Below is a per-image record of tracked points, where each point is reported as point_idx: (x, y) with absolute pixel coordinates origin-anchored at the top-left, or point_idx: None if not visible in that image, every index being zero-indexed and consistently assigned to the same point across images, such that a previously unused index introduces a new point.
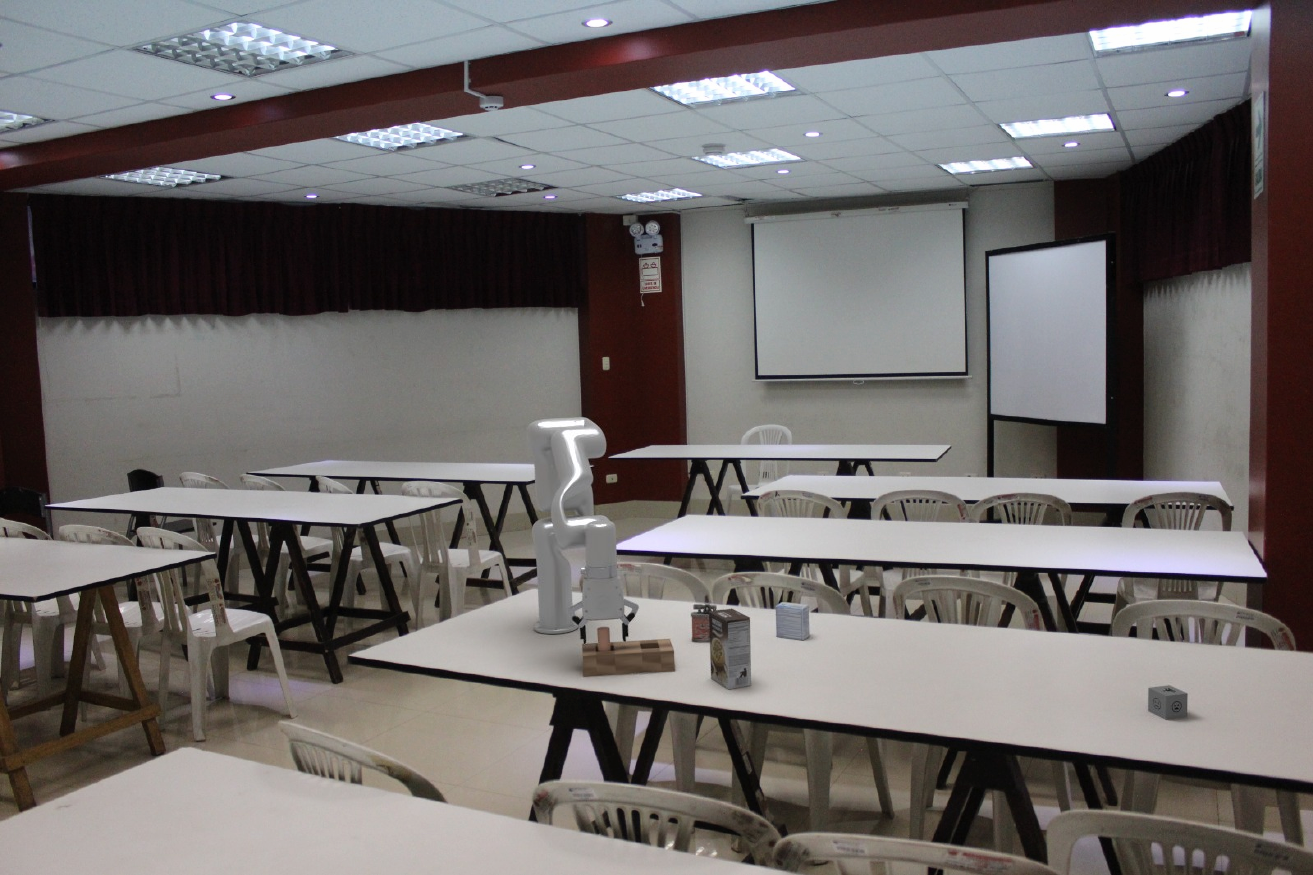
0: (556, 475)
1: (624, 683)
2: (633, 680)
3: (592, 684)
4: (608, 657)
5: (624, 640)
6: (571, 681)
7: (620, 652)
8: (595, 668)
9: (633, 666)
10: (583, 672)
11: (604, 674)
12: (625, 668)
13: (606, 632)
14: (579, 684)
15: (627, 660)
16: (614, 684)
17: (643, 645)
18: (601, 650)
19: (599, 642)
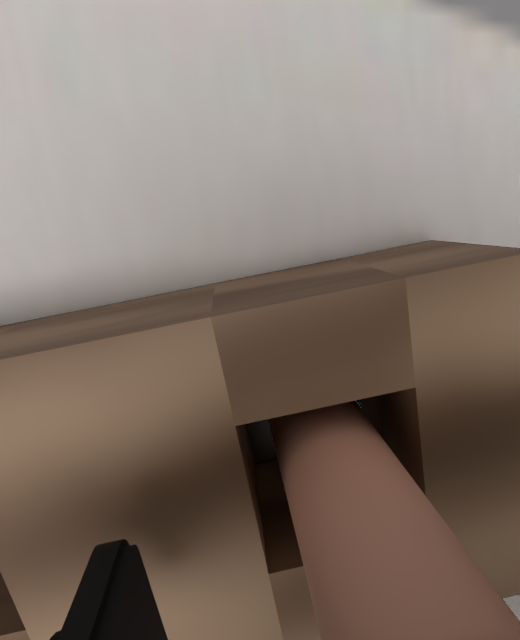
0: None
1: (112, 83)
2: (56, 156)
3: (353, 65)
4: (275, 295)
5: (112, 542)
6: (504, 138)
7: (161, 374)
8: (367, 261)
9: (71, 321)
10: (444, 241)
11: (292, 268)
12: (137, 304)
13: (376, 612)
14: (447, 68)
15: (101, 324)
16: (186, 60)
17: (2, 619)
18: (364, 431)
19: (417, 488)
